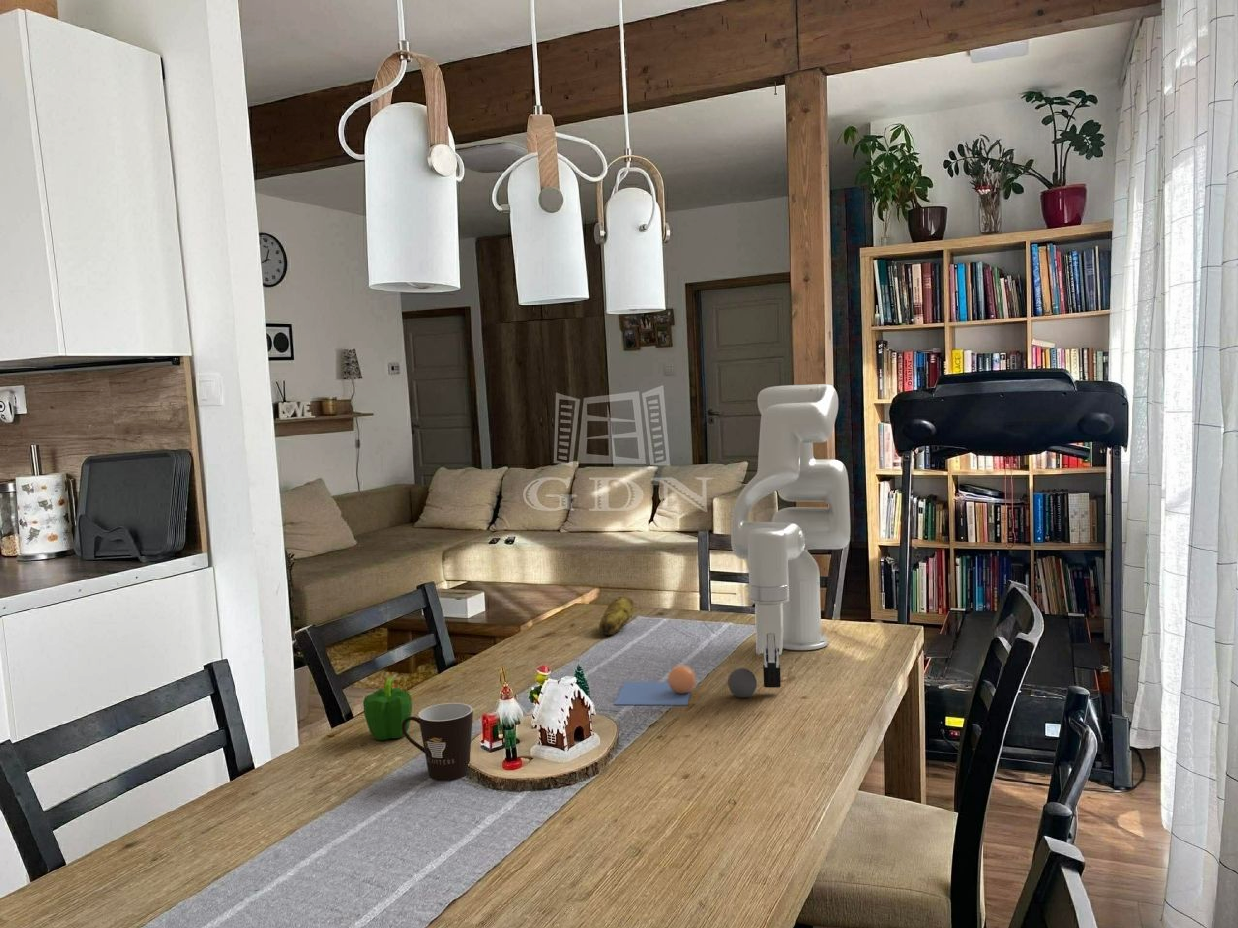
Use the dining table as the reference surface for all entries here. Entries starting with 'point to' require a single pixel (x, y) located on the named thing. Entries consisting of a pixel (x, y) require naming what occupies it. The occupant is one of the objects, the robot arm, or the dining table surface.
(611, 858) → the dining table surface
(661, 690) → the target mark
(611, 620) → the potato
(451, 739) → the coffee mug
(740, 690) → the dark gray ball
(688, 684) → the object ball
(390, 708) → the bell pepper
